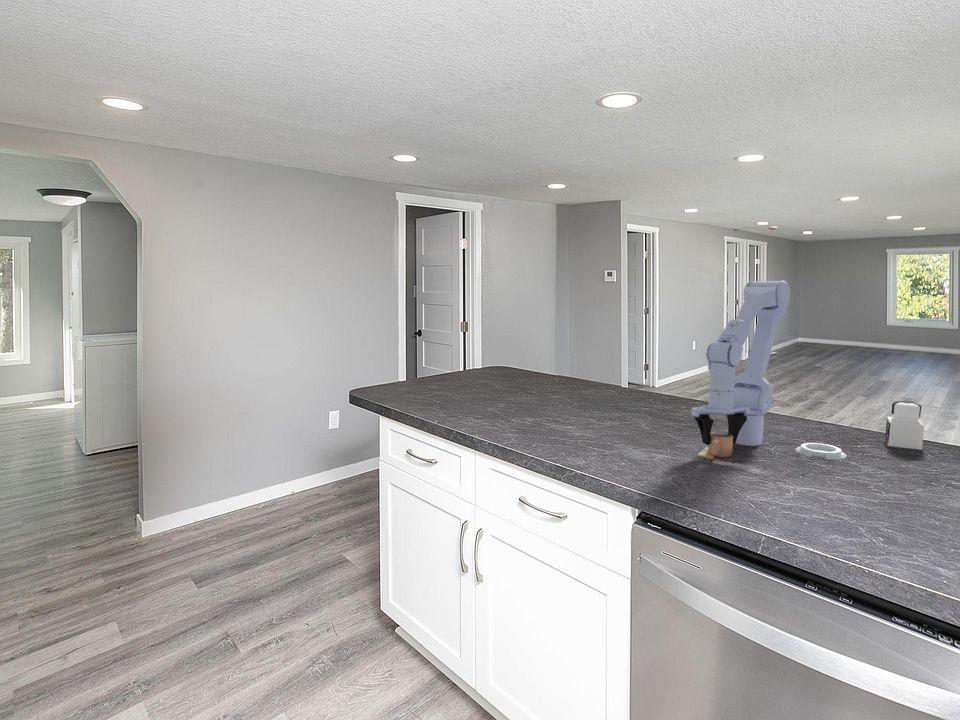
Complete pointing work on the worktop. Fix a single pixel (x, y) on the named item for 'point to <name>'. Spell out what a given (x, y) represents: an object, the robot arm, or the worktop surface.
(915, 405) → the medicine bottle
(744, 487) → the worktop surface
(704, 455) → the mat
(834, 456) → the plate
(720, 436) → the mug
